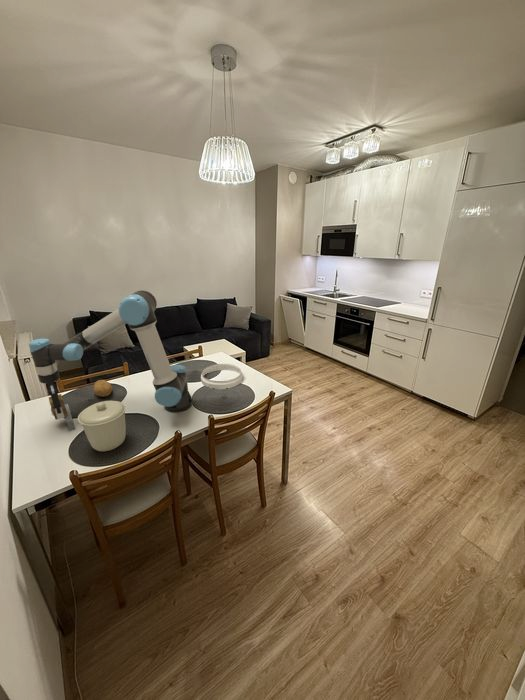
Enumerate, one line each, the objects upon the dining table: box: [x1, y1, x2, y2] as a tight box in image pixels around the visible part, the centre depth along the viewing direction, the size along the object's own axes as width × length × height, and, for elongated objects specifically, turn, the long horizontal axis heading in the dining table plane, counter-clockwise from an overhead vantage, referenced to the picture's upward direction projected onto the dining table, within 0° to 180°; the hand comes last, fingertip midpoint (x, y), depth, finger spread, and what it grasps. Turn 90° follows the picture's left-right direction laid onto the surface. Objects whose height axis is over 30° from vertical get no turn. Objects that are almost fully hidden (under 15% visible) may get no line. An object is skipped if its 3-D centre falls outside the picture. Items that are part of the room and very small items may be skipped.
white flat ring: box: [200, 363, 243, 390], centre depth 183 cm, size 27×27×6 cm
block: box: [48, 393, 68, 420], centre depth 134 cm, size 5×5×10 cm
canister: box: [77, 400, 127, 452], centre depth 122 cm, size 18×18×21 cm
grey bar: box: [64, 403, 76, 432], centre depth 139 cm, size 18×2×5 cm, turn 39°
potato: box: [93, 379, 113, 397], centre depth 162 cm, size 10×14×8 cm
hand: (60, 415), depth 136 cm, fingers closed on block, 5 cm apart
